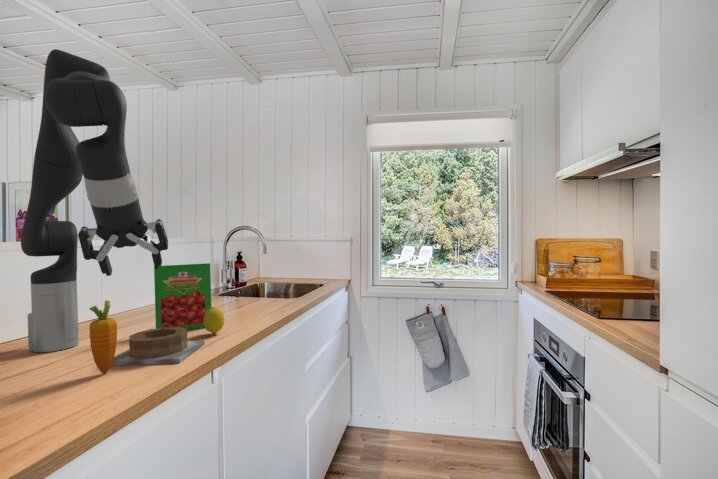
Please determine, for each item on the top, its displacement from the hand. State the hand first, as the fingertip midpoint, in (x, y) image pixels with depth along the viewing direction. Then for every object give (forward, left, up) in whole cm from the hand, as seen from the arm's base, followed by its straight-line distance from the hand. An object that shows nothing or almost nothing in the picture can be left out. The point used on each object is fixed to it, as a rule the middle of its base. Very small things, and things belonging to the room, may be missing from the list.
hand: (133, 270), depth 74 cm
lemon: (+5, +29, -22) cm, 37 cm away
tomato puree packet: (-6, +35, -22) cm, 42 cm away
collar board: (-2, +12, -21) cm, 25 cm away
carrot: (-7, 0, -22) cm, 23 cm away
